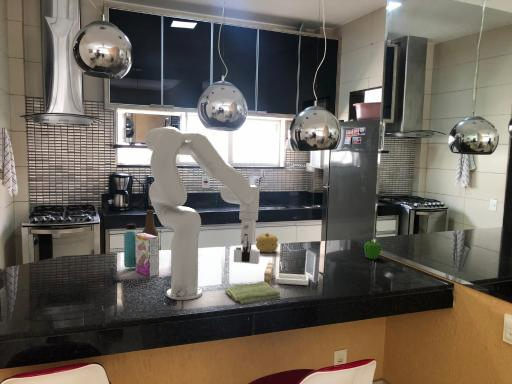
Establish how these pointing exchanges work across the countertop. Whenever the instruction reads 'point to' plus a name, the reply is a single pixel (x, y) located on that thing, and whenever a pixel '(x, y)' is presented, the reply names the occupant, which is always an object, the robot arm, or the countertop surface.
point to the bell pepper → (372, 250)
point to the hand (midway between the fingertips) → (246, 260)
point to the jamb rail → (268, 273)
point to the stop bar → (253, 255)
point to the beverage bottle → (130, 247)
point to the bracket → (292, 279)
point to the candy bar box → (147, 254)
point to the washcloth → (252, 292)
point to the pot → (266, 243)
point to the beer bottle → (150, 224)
